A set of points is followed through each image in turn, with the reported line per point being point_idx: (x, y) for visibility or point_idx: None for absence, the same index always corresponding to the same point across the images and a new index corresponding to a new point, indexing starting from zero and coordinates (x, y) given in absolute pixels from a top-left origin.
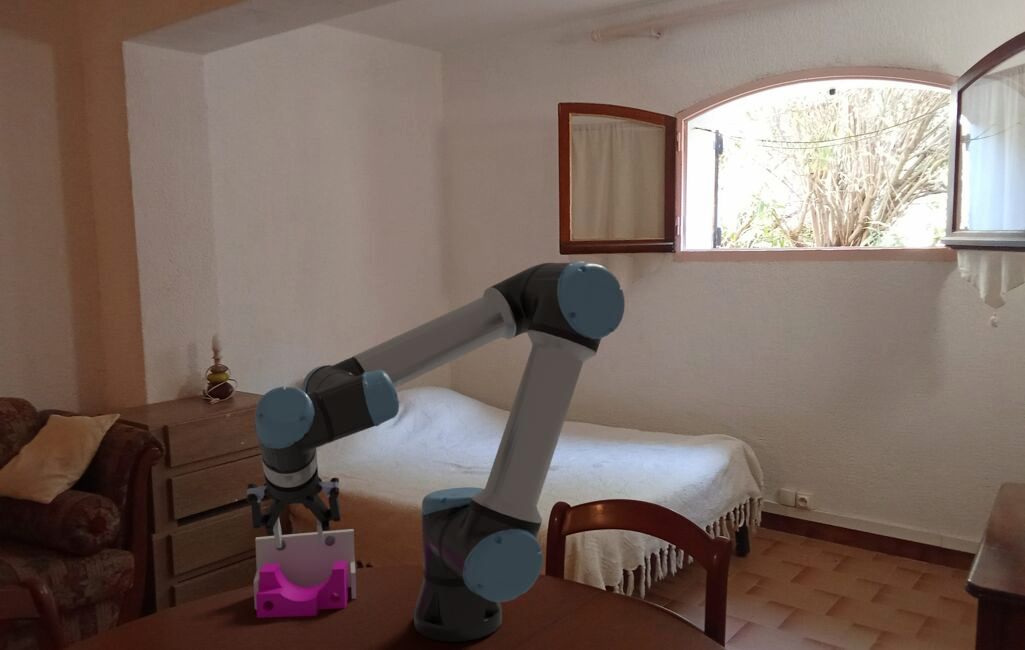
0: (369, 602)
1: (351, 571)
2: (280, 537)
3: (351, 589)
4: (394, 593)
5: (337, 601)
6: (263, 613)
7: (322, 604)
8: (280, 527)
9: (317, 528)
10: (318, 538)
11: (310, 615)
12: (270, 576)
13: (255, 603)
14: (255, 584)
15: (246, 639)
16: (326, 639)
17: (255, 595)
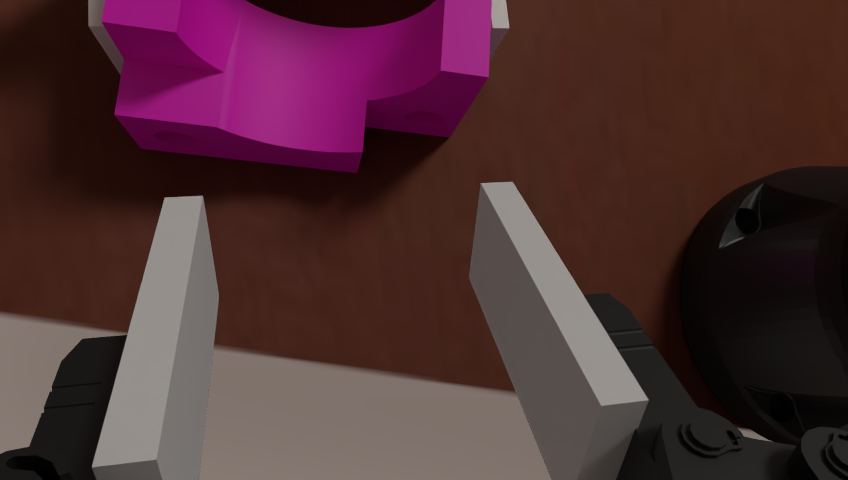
0: (526, 112)
1: (493, 14)
2: (206, 313)
3: None
4: (599, 63)
5: (428, 121)
6: (162, 146)
7: (375, 121)
8: (193, 267)
9: (552, 475)
10: (495, 335)
11: (336, 170)
12: (161, 41)
13: (120, 69)
14: (99, 30)
15: (122, 317)
16: (410, 363)
17: (112, 54)
